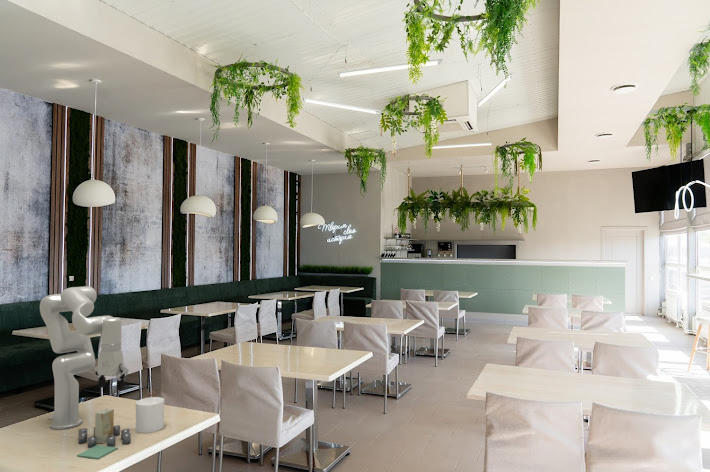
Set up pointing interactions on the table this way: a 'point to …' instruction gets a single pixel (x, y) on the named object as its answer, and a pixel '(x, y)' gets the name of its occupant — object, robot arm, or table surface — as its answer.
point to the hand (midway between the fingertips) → (110, 388)
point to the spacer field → (110, 440)
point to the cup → (149, 414)
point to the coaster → (97, 452)
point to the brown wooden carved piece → (150, 395)
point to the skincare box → (104, 424)
